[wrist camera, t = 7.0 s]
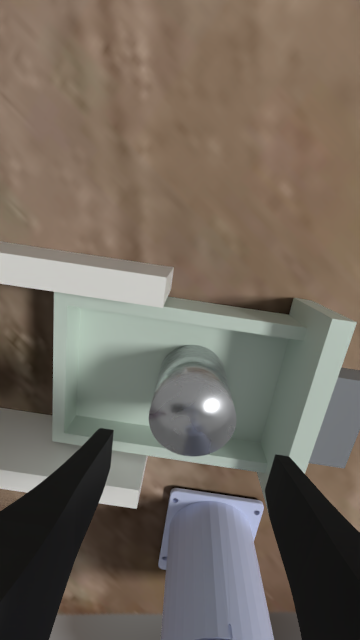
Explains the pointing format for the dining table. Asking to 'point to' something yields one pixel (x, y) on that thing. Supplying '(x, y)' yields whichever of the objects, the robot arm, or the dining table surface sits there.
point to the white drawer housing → (36, 429)
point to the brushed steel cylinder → (192, 403)
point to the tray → (240, 367)
